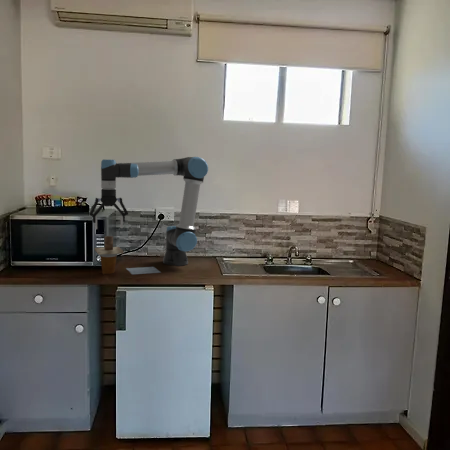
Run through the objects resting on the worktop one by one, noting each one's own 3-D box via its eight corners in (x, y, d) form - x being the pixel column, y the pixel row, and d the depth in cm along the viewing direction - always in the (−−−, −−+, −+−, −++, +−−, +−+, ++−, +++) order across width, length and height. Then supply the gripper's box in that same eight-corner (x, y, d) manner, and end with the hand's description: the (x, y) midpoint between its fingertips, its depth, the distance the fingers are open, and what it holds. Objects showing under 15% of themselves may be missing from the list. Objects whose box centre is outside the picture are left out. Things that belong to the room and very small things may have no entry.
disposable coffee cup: (112, 276, 249) (112, 253, 248) (96, 274, 251) (96, 252, 250) (120, 272, 258) (120, 250, 257) (104, 270, 260) (104, 249, 259)
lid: (118, 249, 262) (118, 234, 261) (123, 253, 250) (123, 238, 249) (94, 250, 256) (94, 235, 255) (98, 254, 245) (98, 239, 244)
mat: (153, 267, 272) (153, 266, 272) (161, 273, 258) (161, 272, 258) (125, 269, 265) (125, 268, 265) (132, 275, 252) (132, 274, 252)
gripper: (85, 189, 240) (86, 230, 243) (133, 189, 251) (133, 228, 254) (83, 188, 247) (84, 228, 250) (130, 188, 257) (130, 226, 260)
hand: (109, 228), depth 252 cm, fingers open, 13 cm apart
